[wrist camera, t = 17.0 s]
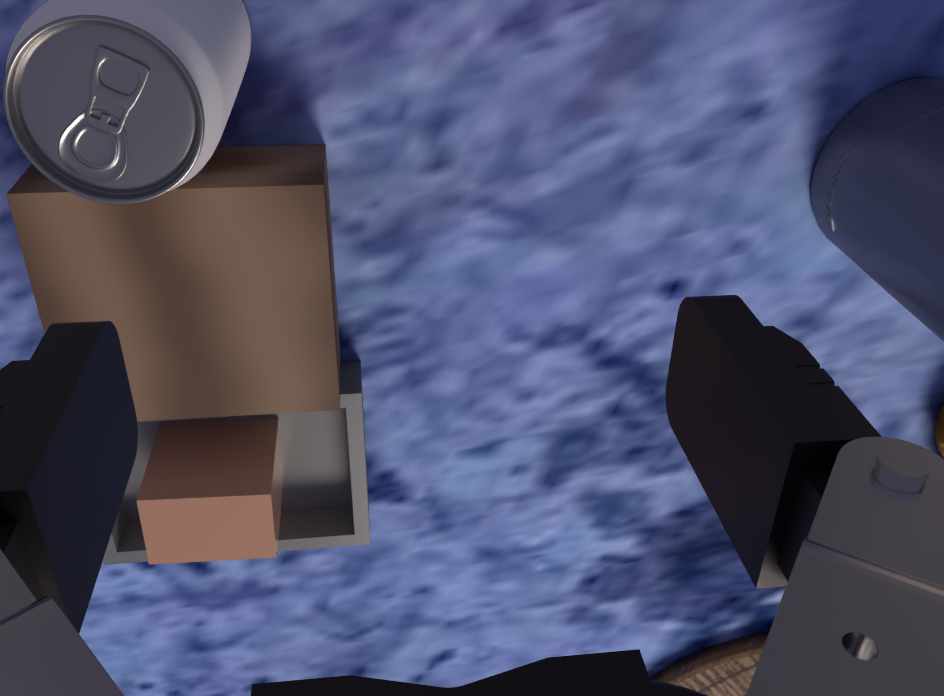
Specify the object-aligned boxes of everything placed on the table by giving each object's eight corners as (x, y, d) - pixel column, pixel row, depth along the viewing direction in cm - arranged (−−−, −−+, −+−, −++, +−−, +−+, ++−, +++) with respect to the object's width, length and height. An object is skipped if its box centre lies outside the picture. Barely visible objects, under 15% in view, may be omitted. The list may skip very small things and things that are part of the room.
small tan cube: (270, 494, 41) (276, 557, 43) (278, 418, 46) (283, 478, 48) (136, 500, 40) (149, 564, 42) (159, 422, 45) (169, 483, 47)
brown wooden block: (325, 144, 39) (323, 184, 35) (340, 353, 45) (340, 410, 41) (43, 150, 38) (6, 193, 34) (96, 365, 44) (69, 425, 39)
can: (68, 65, 36) (-38, 165, 26) (115, -90, 34) (17, -46, 23) (221, 132, 38) (178, 248, 28) (276, -8, 36) (251, 64, 26)
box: (360, 360, 45) (361, 393, 43) (368, 507, 51) (370, 544, 48) (77, 375, 44) (61, 410, 41) (116, 525, 49) (103, 564, 46)
